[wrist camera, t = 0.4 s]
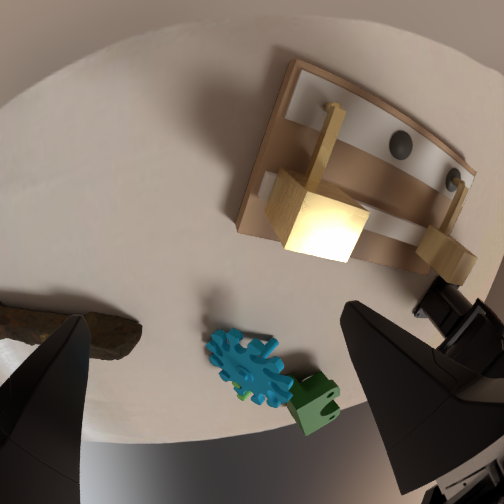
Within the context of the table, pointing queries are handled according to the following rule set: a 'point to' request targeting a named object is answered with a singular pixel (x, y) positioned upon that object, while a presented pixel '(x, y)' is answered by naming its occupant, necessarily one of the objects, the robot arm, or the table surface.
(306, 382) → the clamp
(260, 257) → the table surface
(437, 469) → the robot arm
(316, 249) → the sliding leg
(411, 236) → the wooden base with blocks
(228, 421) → the table surface
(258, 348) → the gear
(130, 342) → the hand tool
